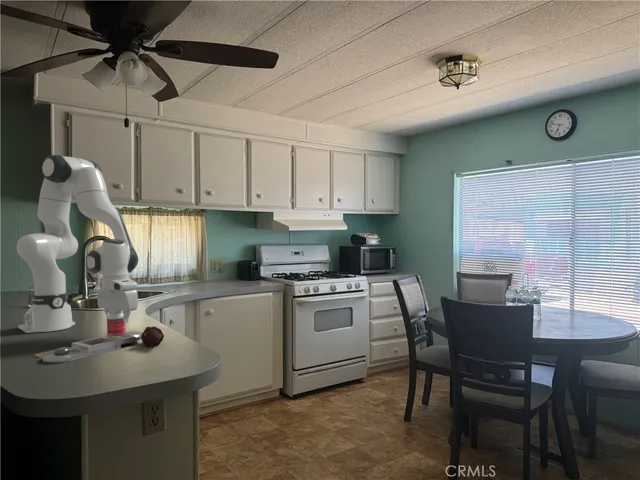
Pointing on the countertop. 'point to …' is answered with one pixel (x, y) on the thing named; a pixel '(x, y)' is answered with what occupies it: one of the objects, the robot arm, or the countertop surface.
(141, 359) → the countertop surface
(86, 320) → the countertop surface
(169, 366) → the countertop surface
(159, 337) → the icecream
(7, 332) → the countertop surface
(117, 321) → the pill bottle
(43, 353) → the link plate
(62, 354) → the flat tray with frame
